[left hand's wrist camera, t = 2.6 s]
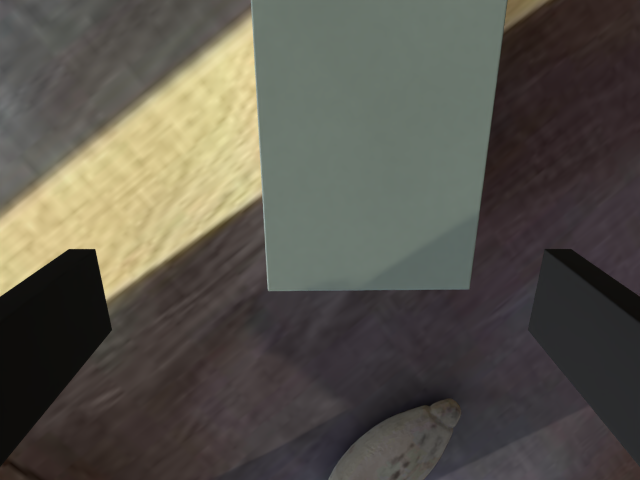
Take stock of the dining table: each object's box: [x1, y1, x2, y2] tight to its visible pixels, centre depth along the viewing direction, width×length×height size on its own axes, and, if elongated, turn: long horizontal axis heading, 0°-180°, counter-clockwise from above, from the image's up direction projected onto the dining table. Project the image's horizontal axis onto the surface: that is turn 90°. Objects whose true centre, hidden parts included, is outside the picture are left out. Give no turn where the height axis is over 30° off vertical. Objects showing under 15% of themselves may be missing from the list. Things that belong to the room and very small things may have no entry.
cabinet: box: [251, 0, 507, 291], centre depth 23 cm, size 17×10×9 cm, turn 0°
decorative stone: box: [328, 399, 461, 480], centre depth 36 cm, size 6×16×3 cm, turn 141°
